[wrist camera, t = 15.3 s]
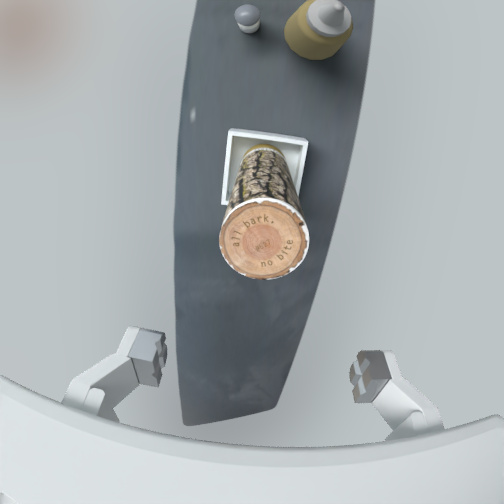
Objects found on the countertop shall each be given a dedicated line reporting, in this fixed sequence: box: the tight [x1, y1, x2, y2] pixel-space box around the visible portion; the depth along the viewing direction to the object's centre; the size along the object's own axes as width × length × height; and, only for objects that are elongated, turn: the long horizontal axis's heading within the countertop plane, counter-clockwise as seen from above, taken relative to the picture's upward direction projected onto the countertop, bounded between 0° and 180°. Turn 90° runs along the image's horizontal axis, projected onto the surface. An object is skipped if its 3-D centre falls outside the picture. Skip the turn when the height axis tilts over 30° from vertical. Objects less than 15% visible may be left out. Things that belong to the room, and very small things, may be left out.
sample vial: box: [235, 5, 260, 33], centre depth 31 cm, size 3×3×6 cm
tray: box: [221, 128, 308, 205], centre depth 43 cm, size 11×11×4 cm
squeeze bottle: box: [284, 0, 353, 60], centre depth 26 cm, size 8×8×18 cm
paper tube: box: [219, 144, 309, 280], centre depth 33 cm, size 7×7×25 cm
